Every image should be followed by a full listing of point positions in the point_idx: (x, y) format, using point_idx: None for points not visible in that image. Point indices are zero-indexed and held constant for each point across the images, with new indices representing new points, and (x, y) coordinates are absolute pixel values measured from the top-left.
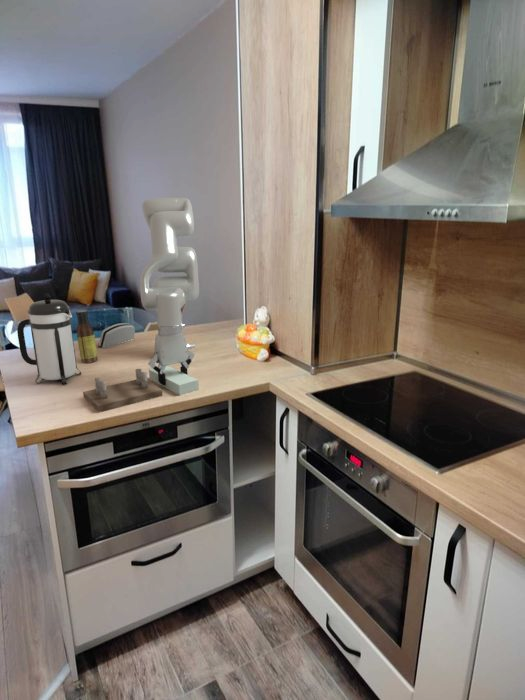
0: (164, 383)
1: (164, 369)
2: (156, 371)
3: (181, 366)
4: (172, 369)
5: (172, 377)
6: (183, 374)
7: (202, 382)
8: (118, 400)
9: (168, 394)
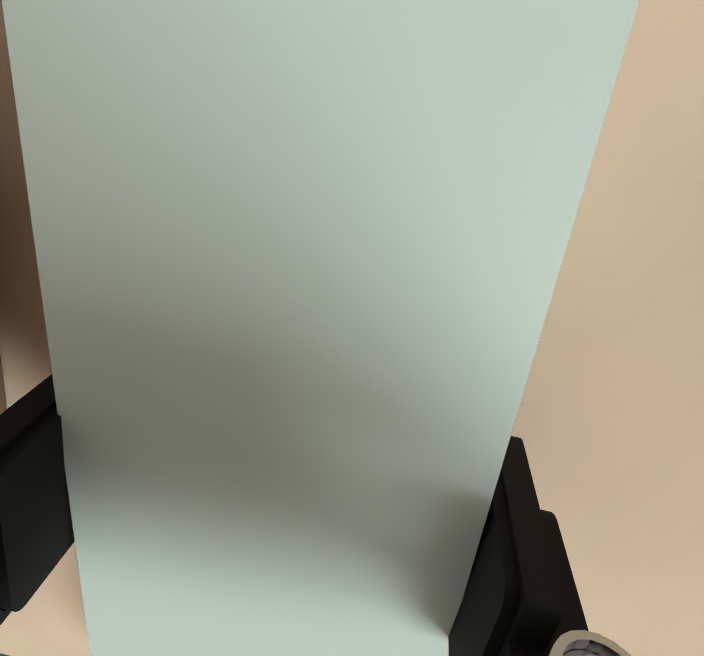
0: None
1: (338, 116)
2: (89, 83)
3: (547, 613)
4: (478, 292)
5: (183, 600)
6: (406, 641)
7: (609, 630)
8: None
9: None
